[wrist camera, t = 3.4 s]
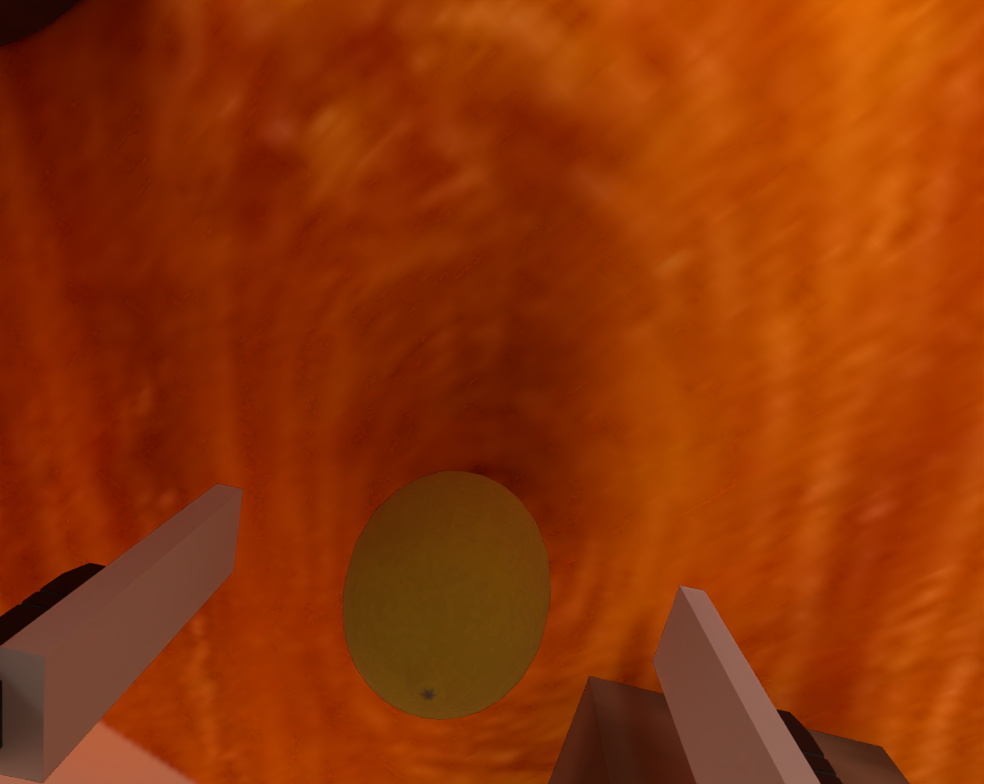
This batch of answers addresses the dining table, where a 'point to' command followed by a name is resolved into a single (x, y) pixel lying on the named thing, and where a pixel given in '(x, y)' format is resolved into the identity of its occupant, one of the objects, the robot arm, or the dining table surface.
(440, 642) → the lemon
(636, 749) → the walnut block
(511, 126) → the dining table surface
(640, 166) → the dining table surface
